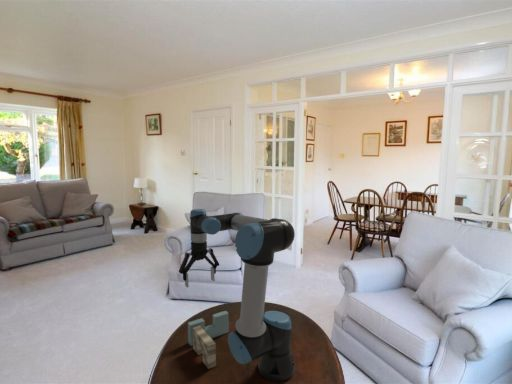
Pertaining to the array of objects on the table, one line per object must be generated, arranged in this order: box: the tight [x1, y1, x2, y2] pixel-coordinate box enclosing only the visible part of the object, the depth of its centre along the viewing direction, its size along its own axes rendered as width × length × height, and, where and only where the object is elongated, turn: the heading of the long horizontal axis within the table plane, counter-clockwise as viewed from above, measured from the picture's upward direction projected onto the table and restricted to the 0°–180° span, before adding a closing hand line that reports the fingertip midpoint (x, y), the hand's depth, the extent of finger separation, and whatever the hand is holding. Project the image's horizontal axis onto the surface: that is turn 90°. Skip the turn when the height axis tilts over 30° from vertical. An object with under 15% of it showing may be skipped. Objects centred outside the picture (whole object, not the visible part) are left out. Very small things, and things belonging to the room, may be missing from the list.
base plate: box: [187, 310, 230, 347], centre depth 145 cm, size 20×3×10 cm, turn 124°
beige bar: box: [192, 326, 217, 370], centre depth 131 cm, size 16×4×10 cm, turn 34°
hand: (200, 283), depth 148 cm, fingers open, 13 cm apart
